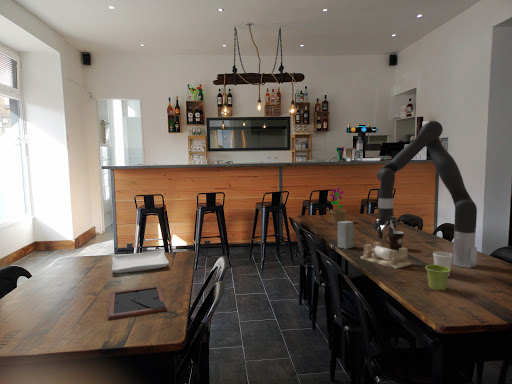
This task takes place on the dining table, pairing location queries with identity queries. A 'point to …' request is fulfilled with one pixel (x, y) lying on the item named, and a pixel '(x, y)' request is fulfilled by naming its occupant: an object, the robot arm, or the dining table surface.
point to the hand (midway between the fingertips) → (385, 237)
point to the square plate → (139, 262)
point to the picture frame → (136, 302)
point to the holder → (393, 256)
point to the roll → (383, 253)
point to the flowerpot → (338, 214)
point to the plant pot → (437, 276)
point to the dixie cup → (443, 259)
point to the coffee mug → (395, 240)
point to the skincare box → (345, 234)
